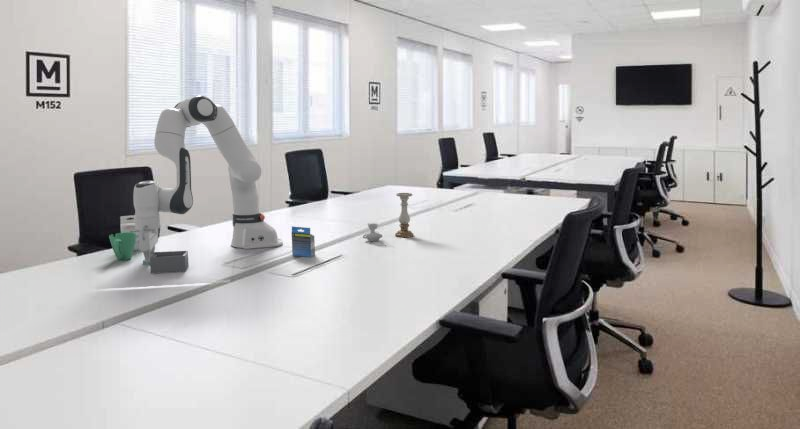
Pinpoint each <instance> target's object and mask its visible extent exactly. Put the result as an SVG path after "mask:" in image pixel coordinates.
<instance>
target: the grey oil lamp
mask: <svg viewBox="0 0 800 429" xmlns="http://www.w3.org/2000/svg"><path fill="white" fill-rule="evenodd" d="M367 226H368V229H369V230H370V231H365V233H364V234H363V236H362V238H363V239H366V240H367V242H370V243H371V242H374V243H375V242H379V241H380V239H381V238H383V234H381V233H379V231H376V229H378V226H379V224H378V223H377V222H367Z"/></svg>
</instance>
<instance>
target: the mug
mask: <svg viewBox="0 0 800 429" xmlns="http://www.w3.org/2000/svg"><path fill="white" fill-rule="evenodd" d="M108 238H109V241H110V244H111V247H112V250H113V253H114V255H115V257H116V259H117V260H118V261H121V262H122V261H128V260H129V259H130V260H131V259H132V257H133V253H134V251H133V250H134V246H135V240H136V234H135V233H121V232H117V233H115V234H112V233H111V234H109V235H108Z"/></svg>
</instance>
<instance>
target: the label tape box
mask: <svg viewBox="0 0 800 429" xmlns="http://www.w3.org/2000/svg"><path fill="white" fill-rule="evenodd" d="M300 230H301V231H300ZM315 245H316V244H315V235H313V234H311V227H303V226H291V250H292V251H291V252H292V256H293V257H305V258H306V257H308V258H309V257H310V258H312V257H314V256H315V255H316V246H315Z"/></svg>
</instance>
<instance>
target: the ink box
mask: <svg viewBox="0 0 800 429" xmlns="http://www.w3.org/2000/svg"><path fill="white" fill-rule="evenodd" d="M130 218H131V219H130ZM119 219H120V233H135V234H136V240H135V246H134V250H133V252H135V251H136V252H137V250H138V251H140V250H139V230H137V229H135V214H133V215H123V216H122V215H121V216H120V217H119Z"/></svg>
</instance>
